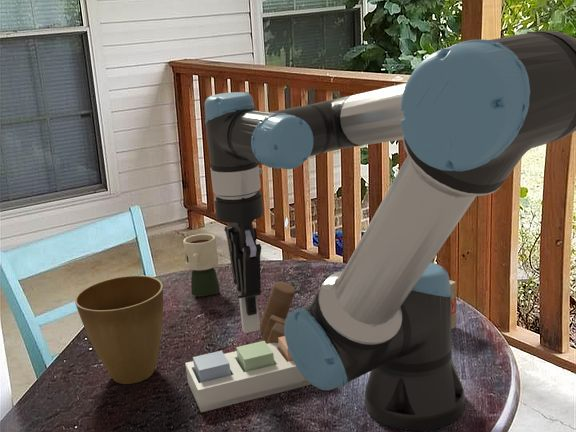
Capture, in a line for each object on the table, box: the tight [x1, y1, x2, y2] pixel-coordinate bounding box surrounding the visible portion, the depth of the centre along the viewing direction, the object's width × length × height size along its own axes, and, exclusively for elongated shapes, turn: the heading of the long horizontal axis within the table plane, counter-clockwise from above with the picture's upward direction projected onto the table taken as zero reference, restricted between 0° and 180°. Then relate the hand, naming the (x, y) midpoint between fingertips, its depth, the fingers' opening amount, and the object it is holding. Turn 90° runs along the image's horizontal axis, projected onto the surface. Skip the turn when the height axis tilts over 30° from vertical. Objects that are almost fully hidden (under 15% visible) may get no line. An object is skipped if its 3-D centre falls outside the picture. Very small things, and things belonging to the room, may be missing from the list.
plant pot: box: [74, 274, 164, 385], centre depth 129 cm, size 15×15×16 cm
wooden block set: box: [259, 281, 296, 344], centre depth 138 cm, size 18×9×10 cm, turn 164°
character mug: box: [182, 233, 221, 297], centre depth 163 cm, size 11×7×13 cm, turn 174°
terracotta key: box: [278, 336, 293, 362], centre depth 126 cm, size 5×5×4 cm
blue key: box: [192, 350, 231, 383], centre depth 122 cm, size 5×5×4 cm
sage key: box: [235, 340, 274, 372], centre depth 124 cm, size 5×5×4 cm
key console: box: [185, 342, 312, 413], centre depth 124 cm, size 10×22×4 cm, turn 109°
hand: (251, 329), depth 122 cm, fingers closed
